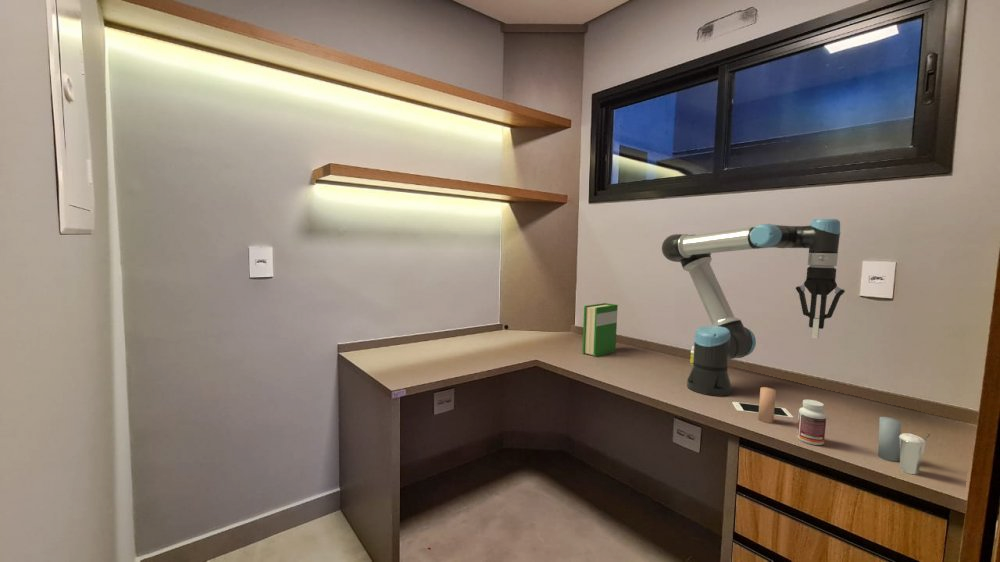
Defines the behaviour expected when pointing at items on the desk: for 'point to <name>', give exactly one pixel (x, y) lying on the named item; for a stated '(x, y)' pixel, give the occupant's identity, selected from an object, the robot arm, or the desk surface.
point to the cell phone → (755, 409)
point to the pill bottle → (811, 423)
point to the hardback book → (599, 329)
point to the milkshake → (911, 452)
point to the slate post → (889, 438)
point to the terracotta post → (766, 404)
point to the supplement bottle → (692, 356)
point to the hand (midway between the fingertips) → (815, 337)
